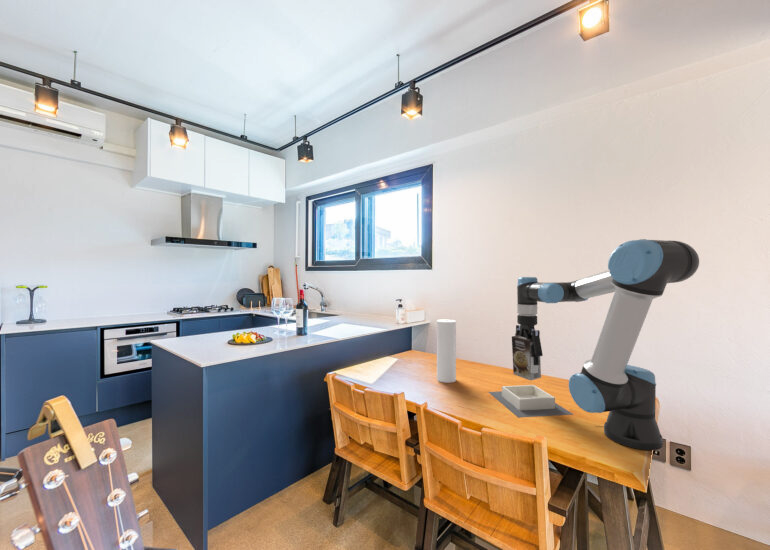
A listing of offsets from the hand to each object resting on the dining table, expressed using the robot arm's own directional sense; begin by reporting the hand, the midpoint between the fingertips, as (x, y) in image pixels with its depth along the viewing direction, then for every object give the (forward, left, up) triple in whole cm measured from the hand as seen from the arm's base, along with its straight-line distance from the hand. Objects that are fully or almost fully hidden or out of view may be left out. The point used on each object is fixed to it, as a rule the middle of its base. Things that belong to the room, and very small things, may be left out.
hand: (527, 368), depth 135 cm
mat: (0, 0, -14) cm, 14 cm away
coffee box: (0, 0, -3) cm, 3 cm away
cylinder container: (+33, +24, -14) cm, 43 cm away
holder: (0, 0, -14) cm, 14 cm away
